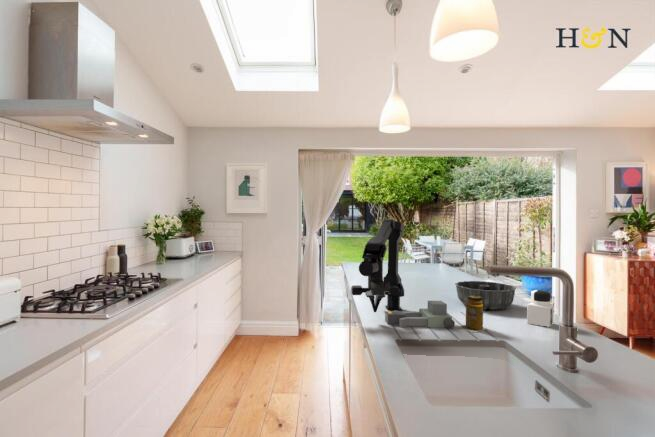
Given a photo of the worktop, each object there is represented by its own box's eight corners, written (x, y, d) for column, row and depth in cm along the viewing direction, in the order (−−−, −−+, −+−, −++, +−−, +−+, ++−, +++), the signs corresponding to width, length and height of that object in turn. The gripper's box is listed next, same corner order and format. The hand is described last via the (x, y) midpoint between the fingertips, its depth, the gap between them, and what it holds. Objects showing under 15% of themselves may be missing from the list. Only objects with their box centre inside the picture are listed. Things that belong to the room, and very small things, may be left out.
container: (553, 323, 138) (554, 291, 138) (549, 328, 132) (549, 294, 132) (531, 319, 143) (532, 288, 143) (526, 323, 137) (527, 290, 137)
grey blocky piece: (391, 316, 145) (392, 297, 145) (440, 317, 145) (440, 298, 145) (400, 328, 130) (400, 307, 130) (454, 328, 130) (454, 307, 130)
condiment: (487, 329, 130) (488, 297, 130) (474, 333, 125) (474, 300, 125) (470, 324, 136) (470, 293, 136) (457, 327, 132) (457, 296, 132)
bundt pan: (447, 299, 179) (448, 279, 179) (499, 299, 178) (499, 280, 178) (466, 312, 153) (466, 290, 153) (527, 314, 152) (527, 291, 152)
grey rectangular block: (385, 321, 139) (385, 310, 139) (402, 321, 140) (402, 310, 140) (387, 324, 135) (387, 313, 135) (405, 324, 135) (405, 313, 135)
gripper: (353, 276, 129) (353, 317, 129) (403, 276, 129) (403, 318, 129) (351, 271, 140) (350, 309, 140) (397, 271, 140) (396, 310, 140)
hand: (374, 312), depth 137 cm, fingers closed
